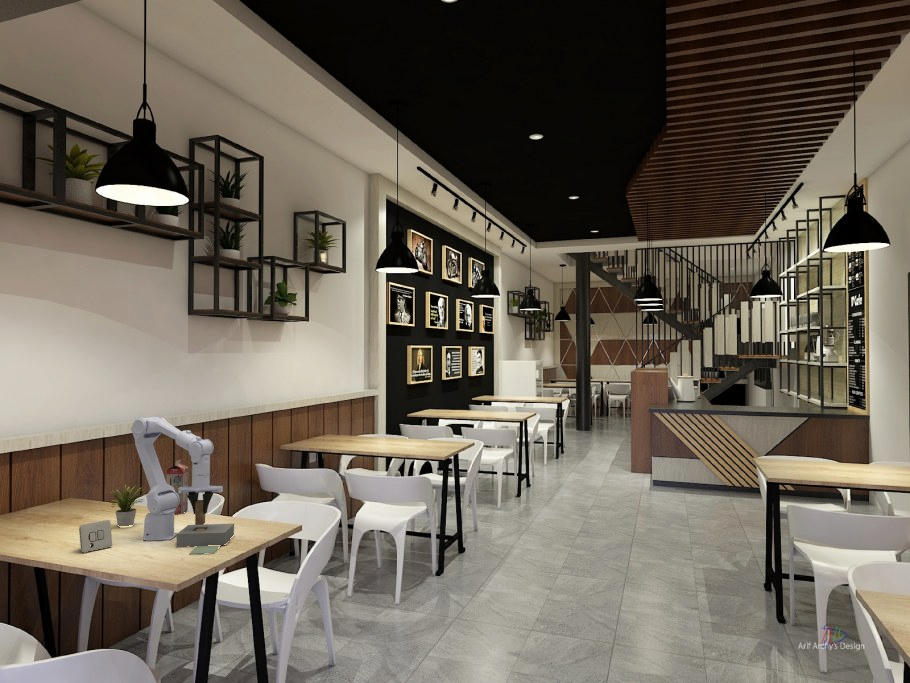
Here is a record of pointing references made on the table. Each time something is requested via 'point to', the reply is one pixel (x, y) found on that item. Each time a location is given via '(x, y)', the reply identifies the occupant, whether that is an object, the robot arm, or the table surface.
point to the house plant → (126, 506)
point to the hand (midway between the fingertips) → (200, 513)
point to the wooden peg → (199, 513)
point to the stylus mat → (204, 549)
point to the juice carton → (179, 484)
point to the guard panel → (205, 535)
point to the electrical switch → (95, 535)
